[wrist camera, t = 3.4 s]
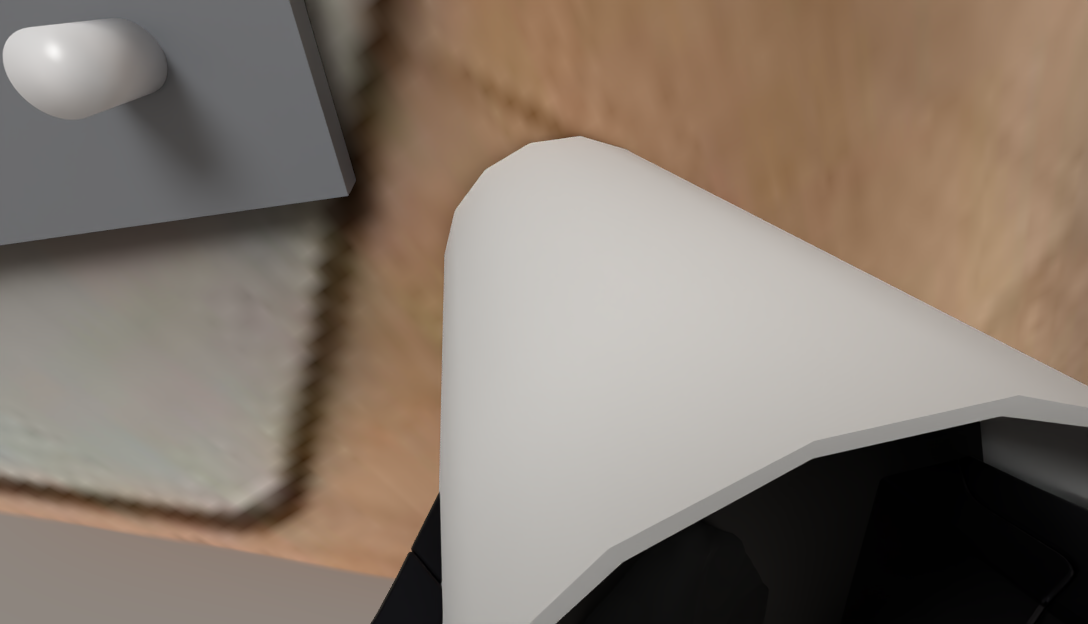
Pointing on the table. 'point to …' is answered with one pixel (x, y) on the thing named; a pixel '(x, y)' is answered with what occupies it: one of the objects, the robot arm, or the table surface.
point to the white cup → (693, 402)
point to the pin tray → (160, 113)
